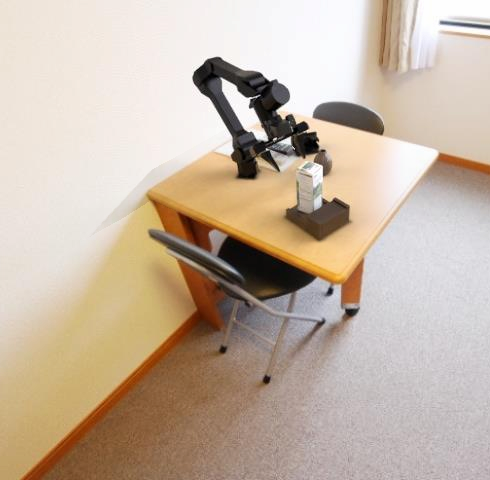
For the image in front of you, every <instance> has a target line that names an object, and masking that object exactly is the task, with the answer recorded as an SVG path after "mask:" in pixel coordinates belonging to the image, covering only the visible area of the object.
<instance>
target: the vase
mask: <svg viewBox="0 0 490 480" xmlns="http://www.w3.org/2000/svg"><path fill="white" fill-rule="evenodd" d="M312 162H313V163H316V164H319V165H322V166H323V176H326V175H329V173H331V171H332V169H333V159H332V156H331V155H330V154H329V153H328V151H327V150H326V149H324V148H321V149H320V150H319V152H318V153H316V155H315V157H313V161H312Z"/></svg>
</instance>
